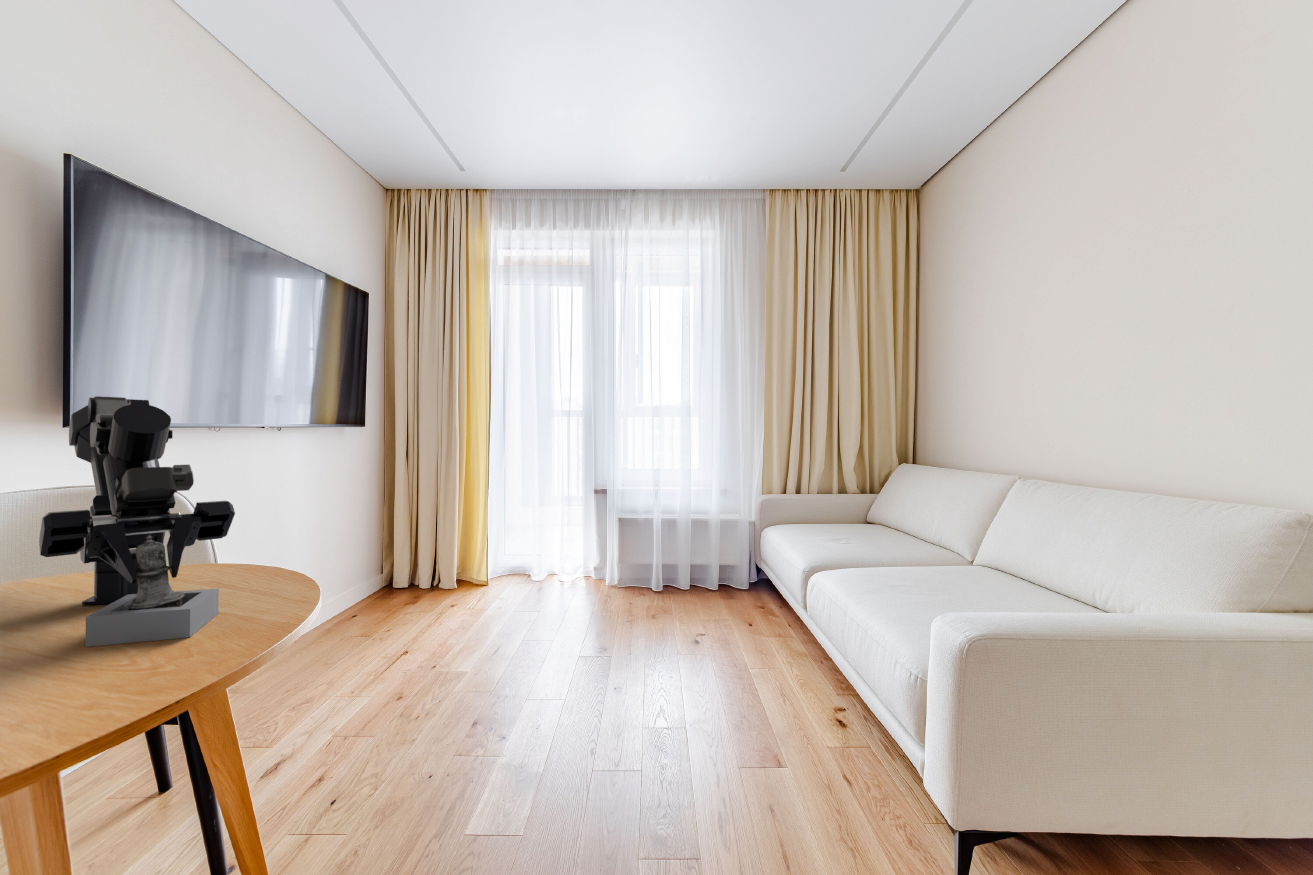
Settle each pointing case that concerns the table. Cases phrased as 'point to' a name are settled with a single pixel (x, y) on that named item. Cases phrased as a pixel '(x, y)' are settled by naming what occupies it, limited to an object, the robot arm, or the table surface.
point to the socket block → (151, 620)
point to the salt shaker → (153, 579)
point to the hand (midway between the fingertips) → (155, 578)
